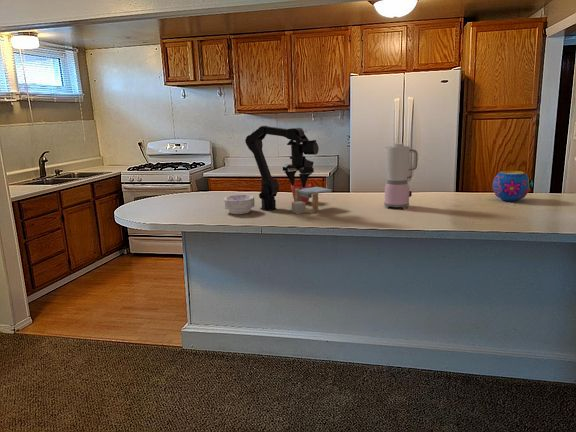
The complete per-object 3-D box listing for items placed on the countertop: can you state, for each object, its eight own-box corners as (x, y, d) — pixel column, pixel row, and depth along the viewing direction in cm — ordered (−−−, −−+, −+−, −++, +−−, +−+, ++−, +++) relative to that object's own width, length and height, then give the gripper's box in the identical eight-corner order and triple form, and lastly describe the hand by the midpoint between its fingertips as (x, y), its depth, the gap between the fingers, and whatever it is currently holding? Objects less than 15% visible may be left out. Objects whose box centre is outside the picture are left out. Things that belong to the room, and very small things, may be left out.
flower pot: (304, 205, 236) (303, 187, 234) (287, 203, 243) (287, 185, 240) (315, 201, 244) (314, 184, 242) (299, 199, 251) (298, 182, 249)
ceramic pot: (535, 203, 224) (538, 174, 221) (500, 204, 225) (502, 174, 221) (518, 196, 241) (521, 169, 238) (485, 197, 242) (487, 170, 238)
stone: (297, 213, 217) (297, 203, 216) (291, 212, 221) (291, 202, 220) (305, 212, 219) (305, 202, 218) (300, 210, 223) (299, 201, 222)
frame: (315, 213, 216) (314, 193, 214) (295, 207, 230) (295, 188, 228) (318, 212, 217) (318, 192, 215) (298, 207, 231) (298, 188, 229)
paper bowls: (227, 217, 214) (226, 201, 212) (222, 210, 228) (221, 195, 227) (257, 214, 218) (257, 198, 216) (251, 208, 232) (251, 193, 231)
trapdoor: (310, 198, 216) (310, 192, 216) (297, 195, 226) (296, 189, 226) (331, 195, 223) (331, 189, 223) (317, 192, 233) (317, 186, 232)
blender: (383, 209, 221) (385, 144, 213) (383, 204, 232) (385, 142, 225) (416, 209, 217) (419, 144, 210) (414, 204, 229) (417, 142, 222)
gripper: (322, 154, 210) (323, 186, 214) (299, 152, 226) (300, 182, 229) (303, 156, 204) (304, 189, 208) (281, 153, 220) (282, 184, 223)
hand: (298, 186), depth 217 cm, fingers open, 9 cm apart
